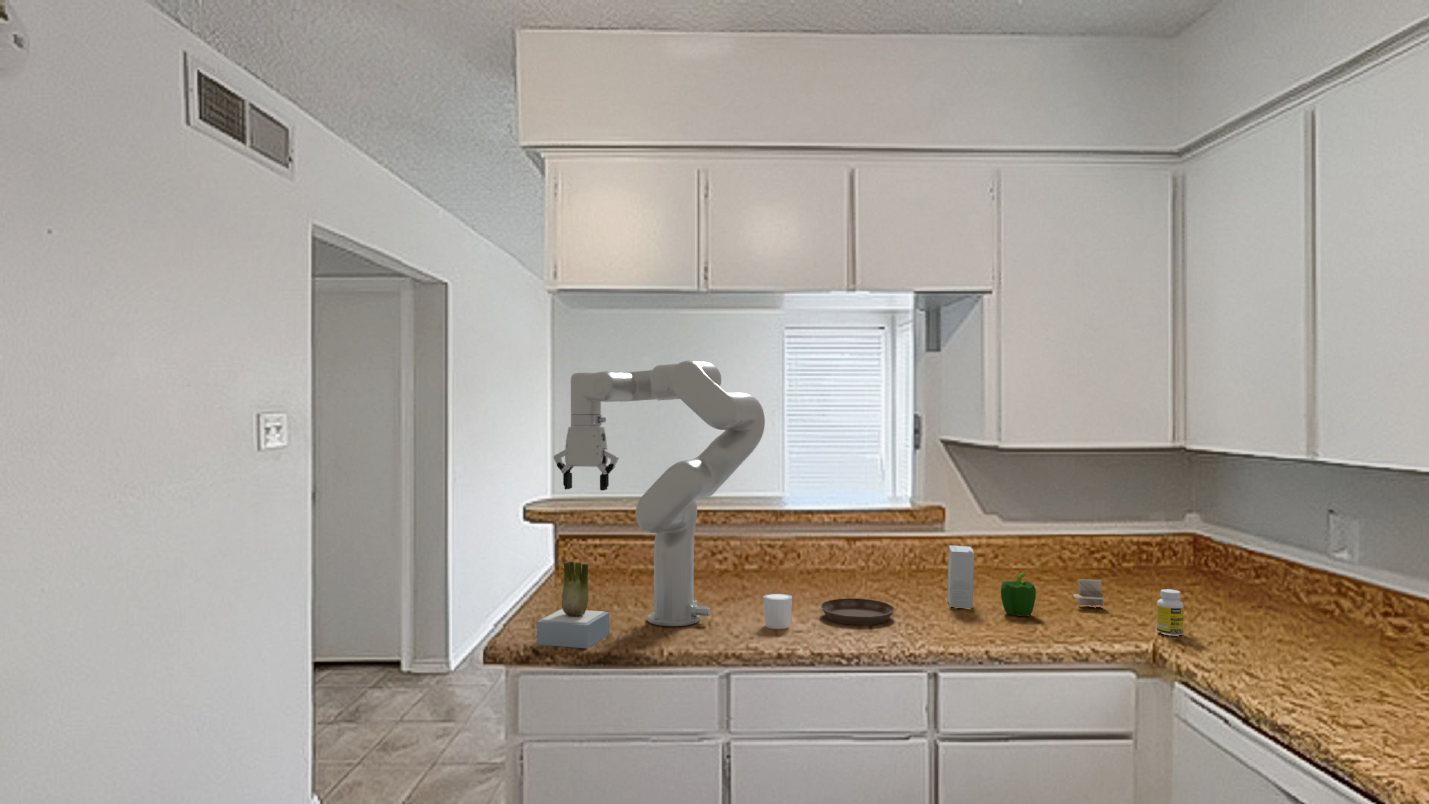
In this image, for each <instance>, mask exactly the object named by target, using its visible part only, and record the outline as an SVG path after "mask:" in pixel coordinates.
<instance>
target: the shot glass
mask: <svg viewBox="0 0 1429 804" xmlns="http://www.w3.org/2000/svg"><path fill="white" fill-rule="evenodd" d="M762 598H763V599H762V600H763V610H764V611H763V613H764V619H765V620H764V621H765V627H766V628H769V629H772V630H782V629H784V630H785V629H788V628H790V626H791V618H792V617H791V616H792V606H793V605H792V604H793V595H790V594H787V593H767V594H764V595H763V596H762Z"/></svg>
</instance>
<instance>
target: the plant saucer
mask: <svg viewBox="0 0 1429 804" xmlns="http://www.w3.org/2000/svg"><path fill="white" fill-rule="evenodd" d="M820 608H821V610H822V612H823V613H824V614H825V615H826V617H827V618H828V619H829V620H831V621H832V622H835V623H839V624H844V625H851V626H872V625H879V624H882V623H885V622H887V620H889V619H890V617H891V616H892V615H893V613H894V612H895V607H894V606H893V605H892V604H889V603H888V602H887V603H886V602H883V601H880V600H877V599H876V600H875V599H868V598H855V597H854V598H853V597H849V598H848V597H847V598H846V597H845V598H836V599H835V598H834V599H830V600H827V601H824V602H822V603H821V604H820Z"/></svg>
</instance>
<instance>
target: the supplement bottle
mask: <svg viewBox="0 0 1429 804" xmlns="http://www.w3.org/2000/svg"><path fill="white" fill-rule="evenodd" d="M1160 597H1161V598H1160V599H1158V600H1157V601H1156V632H1157V631H1158V632H1162V633H1166V634H1171V635H1180V634H1183V635H1184V611H1185V610H1184V608H1185V607H1184V606H1185V605H1184V602H1182V601H1181V600H1180V599H1181V591H1180V590H1176V589H1169V588H1167V589H1161V590H1160Z"/></svg>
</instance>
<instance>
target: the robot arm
mask: <svg viewBox="0 0 1429 804" xmlns="http://www.w3.org/2000/svg"><path fill="white" fill-rule="evenodd" d="M721 385H722V375H721V372H720V370H719V369H718V367H717V366H716V365H714V364H713V363H711V362H709V361H701V360H700V361H699V360H684V361H681V362H679V363H671V364H658V365H656V366H654V367H653V368H652V369H650V370H649V369H648V370H639V371H609V370H608V371H598V372H575V373H573V374H571V377H570V426H568V429H567V434H566V439H565V446H564V450H562V451H559V452H557V454H555V455H553V460H554V462H555V464H556V467H557V468H558V469H559V470H560V473H562V476H563V477H562V480H563V481H562V484H563V486H564V490H570V489H572V488H573V473H572V472H571V471H572V470H573V469H574V467H582V468H583V467H585V468H586V467H587V468H590V467H591V468H596V467H597V468H598V470H599V471H600V472H601V474H600V475H599V491H606V490H608V487H609V485H610V482H609V481H610V479H609V478H610V477H609V476H610V474H611V472H612V471H613V470H614V469H615V468H616V465H617V463H618V461H619V458H620V457H619V456H618V455H616V454H614V453H612V452H611V451H610V450H608V443H607V435H606V430H605V427H604V426H602V424H603V423H606V422H607V419H606V418H607V417H604V416H602V414H601V413H602V410H601V409H602V408H601V405H602V404H601V403H603V402H604V403H605V402H606V403H610V402H611V403H612V402H613V403H614V402H637V401H638V402H639V401H652V400H653V401H654V400H656V401H670V400H671V401H672V400H681V401H682V402H683V403H684V404H685V405H686V406H687V407H688V408H689V409H690V410H691V411H692V412H693V413H695V414H696V415H697V416H698V417H699V418H700V419H701V420H702V422H705V423H706V424H707V425H708V426H709V427H711V428H713V429H715V430H719V431H722V430H723V432H722V433H720V434H719V435H718V436H717V437H715V438H714V439H713V440H712V441H711V442H710V443H709V445H708V446H707V447H706V448H705V449H704V450H703V451H702V452H701V453H700V454H699V455H697V457H694V458H692V459H687V460H686V459H685V460H680V461H678V462H675V463H674V464H672V465H671V466H669V467H668V468H667V469H666V470H665V471H664V472H663V473H662V474H661V475H660V477H658V479H656V480H655V482H654V483H653V484H652V485H651V486H650V487H649V488H648V489H647V490H646V491H645V493H644V494H643V495H641V497H640V499H639V500H638V502H637V504H636V508H635V520H636V522H637V525H638V526H639V527H640V528H641V529H642V530H643V531H645V532H647V533H650V534H655V538H654V544H653V601H654V602H653V611H652V612H650V613H649V614H648V615H647V622H649V624H652V625H654V626H656V625H657V626H662V627H685V626H686V627H687V626H692V625H694V623H695V624H697V623H699V622H700V621H701V616H702V617H710V616H711V608H710V607H708V606H705V605H704V606H703V605H702V606H700V605H699V604H698V600H697V599H694V582H695V581H694V579H695V578H694V575H695V574H694V566H695V565H694V559H695V557H694V556H695V554H694V553H695V550H694V549H695V533H696V525H697V518H698V506H697V502H696V501H700V500H704V499H708V498H709V497H711V496H713V495H714V494H715V493H716V492H717V491H718V489H720V487H721V486H722V485H724V483H725V482H726V481H727V480H728V479H729V478H730V477H731V476H732V474H733V473H735V472H736V471H737V469H738V468H739V467H740V466H741V465H742V464H743V463H744V461H746V460H747V458H748V457H750V455H751V454H752V453H753V452H754V451H755V449H756V448H757V446H758V445H759V444H760V442H761V439H762V437H763V435H764V432H765V431H764V430H765V424H766V423H765V422H766V419H765V412H764V409H763V406H762V405H761V403H760V401H759V400H758V399H757V398H756V397H755V396H753V395H752V394H749V393H745V392H733V391H732V392H726V391H725V390H724V389H723V388H721ZM562 458H564V462H565V463H564V462H563V461H562ZM609 459H610V463H609V464H608V462H609V461H608V460H609ZM607 464H608V465H607Z"/></svg>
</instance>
